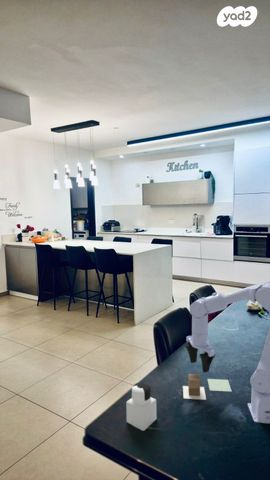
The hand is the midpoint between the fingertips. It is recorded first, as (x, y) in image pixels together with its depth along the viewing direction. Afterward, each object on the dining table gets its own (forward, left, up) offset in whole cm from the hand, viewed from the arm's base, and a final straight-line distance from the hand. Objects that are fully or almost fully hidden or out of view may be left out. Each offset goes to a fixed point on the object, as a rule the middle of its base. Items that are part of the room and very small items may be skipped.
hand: (199, 366), depth 117 cm
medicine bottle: (-19, +20, -10) cm, 29 cm away
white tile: (-2, +2, -10) cm, 10 cm away
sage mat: (+4, -8, -10) cm, 13 cm away
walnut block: (-2, +2, -9) cm, 10 cm away
